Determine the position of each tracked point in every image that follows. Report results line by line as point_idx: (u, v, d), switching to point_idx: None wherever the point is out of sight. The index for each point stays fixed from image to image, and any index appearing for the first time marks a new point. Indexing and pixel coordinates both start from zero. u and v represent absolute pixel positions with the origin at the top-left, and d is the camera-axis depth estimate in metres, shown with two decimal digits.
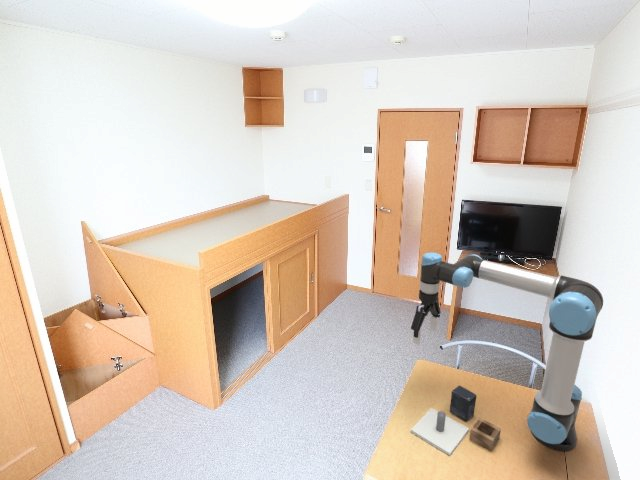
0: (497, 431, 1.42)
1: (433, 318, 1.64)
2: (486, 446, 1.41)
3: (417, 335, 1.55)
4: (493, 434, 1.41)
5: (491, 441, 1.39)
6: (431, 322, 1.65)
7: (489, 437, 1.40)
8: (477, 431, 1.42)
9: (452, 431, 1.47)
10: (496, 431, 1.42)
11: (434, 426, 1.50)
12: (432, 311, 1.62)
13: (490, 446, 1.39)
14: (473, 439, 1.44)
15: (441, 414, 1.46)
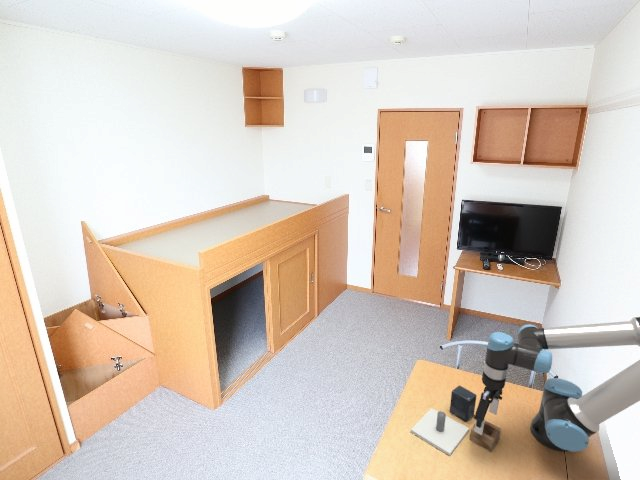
0: (497, 431, 1.42)
1: (494, 400, 1.46)
2: (486, 446, 1.41)
3: (480, 425, 1.36)
4: (493, 434, 1.41)
5: (491, 441, 1.39)
6: (492, 404, 1.47)
7: (489, 437, 1.40)
8: None
9: (452, 431, 1.47)
10: (496, 431, 1.42)
11: (434, 426, 1.50)
12: None
13: (490, 446, 1.39)
14: (473, 439, 1.44)
15: (441, 414, 1.46)
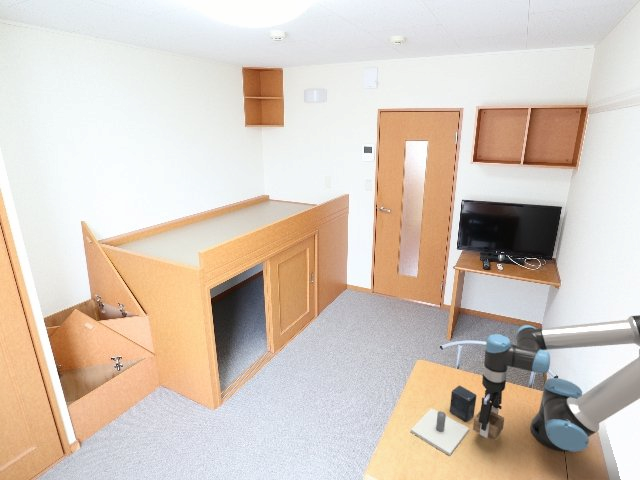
0: (500, 420, 1.41)
1: (494, 409, 1.44)
2: (490, 435, 1.39)
3: (485, 428, 1.38)
4: (496, 423, 1.39)
5: (494, 430, 1.37)
6: None
7: (492, 426, 1.38)
8: None
9: (452, 431, 1.47)
10: (499, 420, 1.41)
11: (434, 426, 1.50)
12: (494, 400, 1.42)
13: (494, 435, 1.38)
14: (476, 429, 1.42)
15: (441, 414, 1.46)
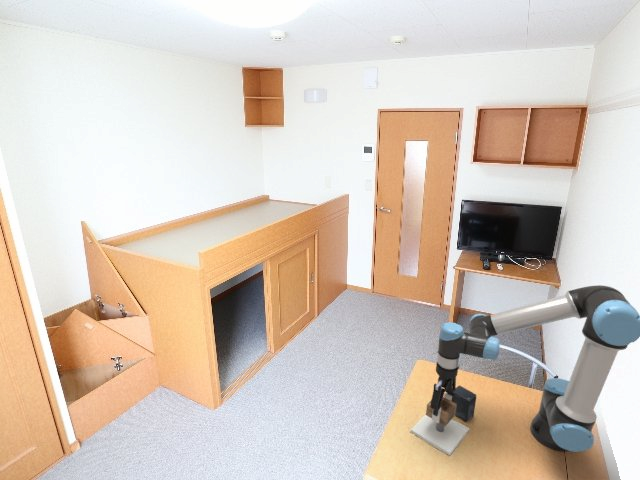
0: (453, 406, 1.44)
1: (447, 396, 1.47)
2: (441, 421, 1.42)
3: (437, 413, 1.41)
4: (448, 409, 1.43)
5: (445, 415, 1.40)
6: None
7: (444, 412, 1.41)
8: None
9: (452, 431, 1.47)
10: (451, 406, 1.44)
11: (434, 426, 1.50)
12: (448, 387, 1.45)
13: (444, 420, 1.41)
14: (429, 414, 1.45)
15: None
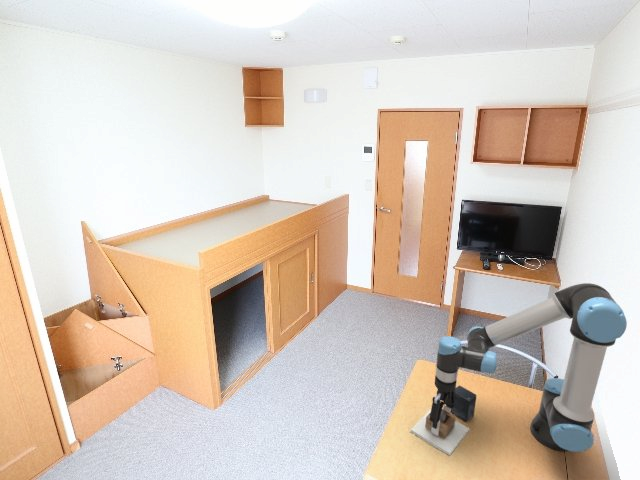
0: (451, 419, 1.46)
1: (446, 408, 1.49)
2: (440, 433, 1.44)
3: (436, 426, 1.43)
4: (447, 421, 1.44)
5: (444, 428, 1.42)
6: None
7: (443, 424, 1.43)
8: None
9: (452, 431, 1.47)
10: (450, 419, 1.46)
11: None
12: (447, 399, 1.47)
13: (444, 433, 1.43)
14: (428, 426, 1.47)
15: (441, 414, 1.46)
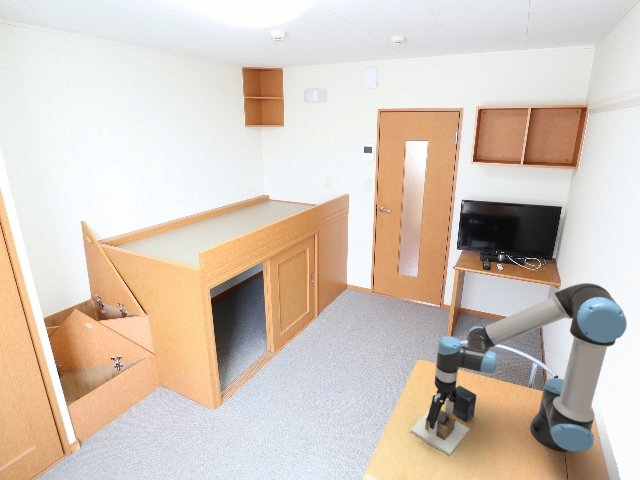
0: (451, 420, 1.46)
1: (449, 403, 1.50)
2: (440, 435, 1.44)
3: (433, 426, 1.41)
4: (447, 423, 1.45)
5: (444, 430, 1.42)
6: (447, 406, 1.51)
7: (443, 426, 1.43)
8: None
9: (452, 431, 1.47)
10: (450, 420, 1.46)
11: None
12: (448, 396, 1.48)
13: (443, 435, 1.43)
14: (428, 428, 1.47)
15: (441, 414, 1.46)
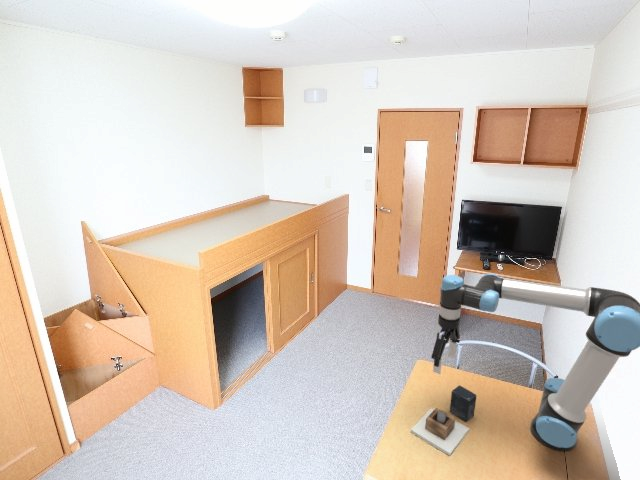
0: (451, 420, 1.46)
1: (452, 343, 1.54)
2: (440, 435, 1.44)
3: (438, 364, 1.44)
4: (447, 423, 1.45)
5: (444, 430, 1.42)
6: (450, 348, 1.55)
7: (443, 426, 1.43)
8: (432, 420, 1.46)
9: (452, 431, 1.47)
10: (450, 420, 1.46)
11: None
12: (452, 336, 1.51)
13: (443, 435, 1.43)
14: (428, 428, 1.47)
15: (441, 414, 1.46)
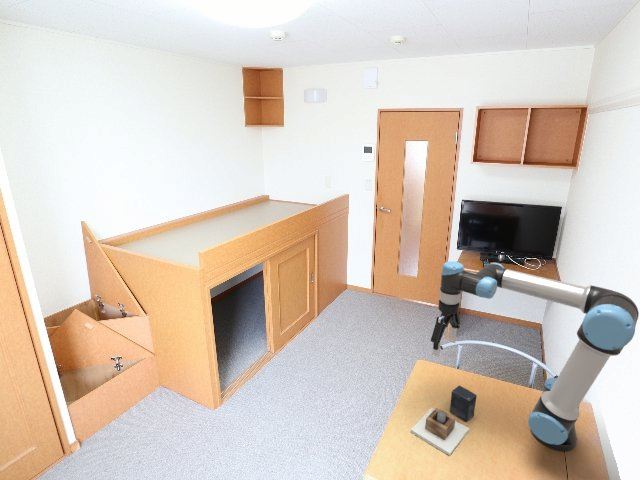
0: (451, 420, 1.46)
1: (452, 329, 1.58)
2: (440, 435, 1.44)
3: (437, 347, 1.49)
4: (447, 423, 1.45)
5: (444, 430, 1.42)
6: (450, 333, 1.59)
7: (443, 426, 1.43)
8: (432, 420, 1.46)
9: (452, 431, 1.47)
10: (450, 420, 1.46)
11: None
12: (452, 322, 1.55)
13: (443, 435, 1.43)
14: (428, 428, 1.47)
15: (441, 414, 1.46)
